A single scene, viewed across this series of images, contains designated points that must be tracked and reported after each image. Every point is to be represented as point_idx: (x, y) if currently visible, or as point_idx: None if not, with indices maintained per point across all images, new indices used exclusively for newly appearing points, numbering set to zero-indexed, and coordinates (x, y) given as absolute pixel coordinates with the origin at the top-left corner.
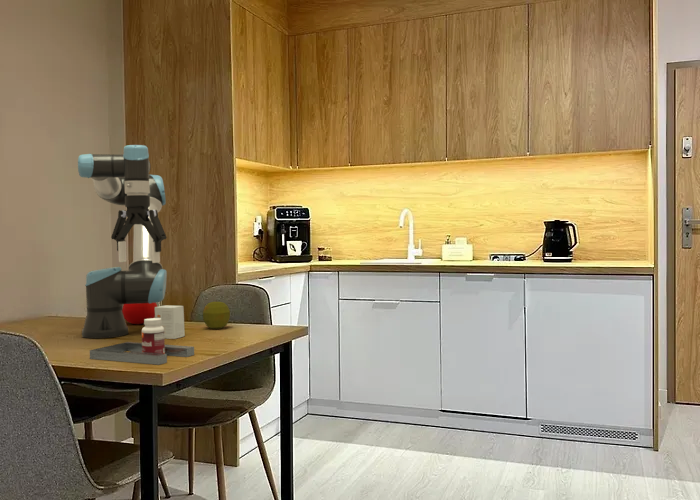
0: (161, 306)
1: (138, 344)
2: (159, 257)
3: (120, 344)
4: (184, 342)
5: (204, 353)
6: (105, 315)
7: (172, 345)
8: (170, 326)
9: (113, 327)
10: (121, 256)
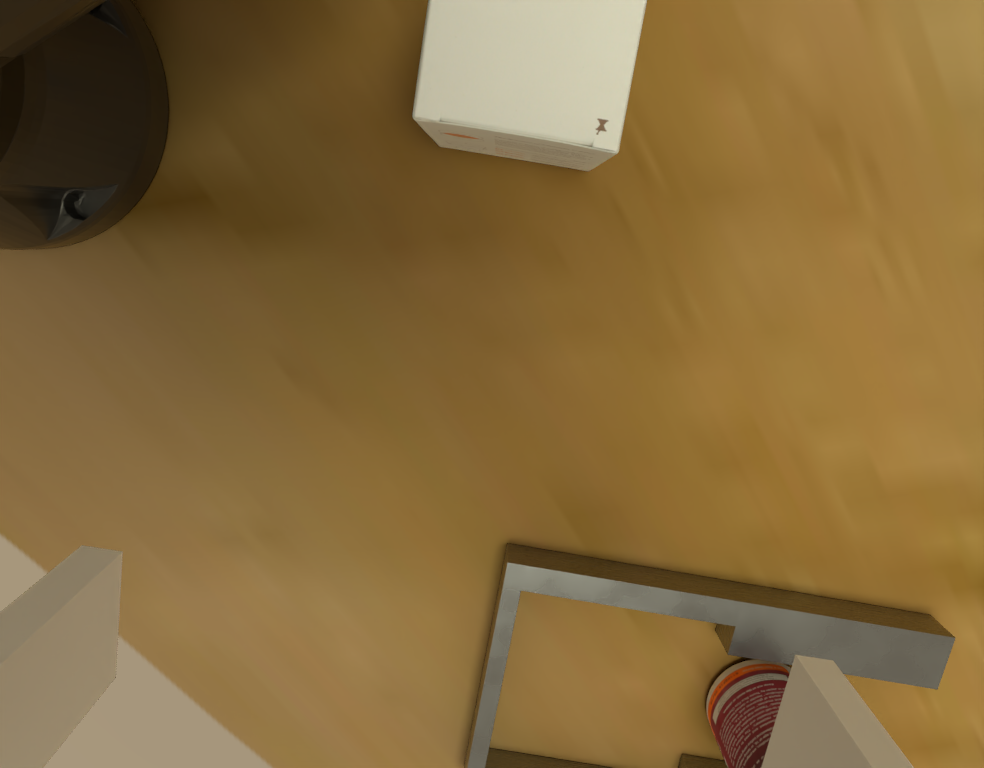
0: (456, 71)
1: (603, 602)
2: (868, 721)
3: (512, 631)
4: (712, 276)
5: (966, 568)
6: (3, 184)
7: (821, 624)
8: (569, 162)
9: (111, 172)
10: (66, 720)
